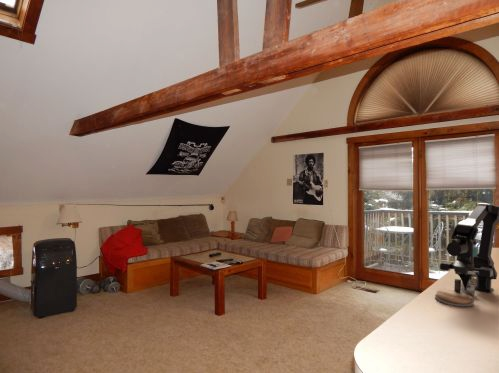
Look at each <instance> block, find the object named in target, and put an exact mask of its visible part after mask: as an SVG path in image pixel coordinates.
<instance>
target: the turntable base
mask: <svg viewBox="0 0 499 373" xmlns="http://www.w3.org/2000/svg"><path fill="white" fill-rule="evenodd" d="M434 298H435V300H436V301H437V302H438V303H441V304H443V305H446V306H450V307H454V308H462V309H463V308H464V309H465V308H467V309H468V308H473V307H474V306H475V305H474V304H475V301H474V300H473V302H472V303H470V304H456V303H451V302H447V301H444V300H442V299H440V298H438V297H437V293H436V294H435V296H434Z"/></svg>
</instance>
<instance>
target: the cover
mask: <svg viewBox="0 0 499 373" xmlns="http://www.w3.org/2000/svg"><path fill="white" fill-rule="evenodd" d="M475 286H476V284H475V283H473V282H470V281H469V283H468V285H467V289H464V285H463V283H462V281H461V292H462V293H465V294H468V295H470V296H471V297H472V298H473V297H475V290H476V289H475Z"/></svg>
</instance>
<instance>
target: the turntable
mask: <svg viewBox="0 0 499 373" xmlns="http://www.w3.org/2000/svg"><path fill="white" fill-rule="evenodd" d="M461 282H462V280H461V278H455V279H454V286H453V288H454V290H453V289H442V290H441V289H440V290H437V291H436V294H437V297H438V298H440V299H442V300H444V301H447V302H451V303H456V304H470V303H472V302H473V301H474V299H473V297H471V296H470V295H468V294H465V293H462V292H461Z"/></svg>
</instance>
